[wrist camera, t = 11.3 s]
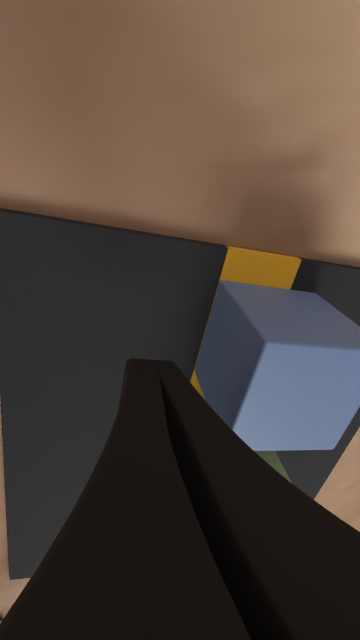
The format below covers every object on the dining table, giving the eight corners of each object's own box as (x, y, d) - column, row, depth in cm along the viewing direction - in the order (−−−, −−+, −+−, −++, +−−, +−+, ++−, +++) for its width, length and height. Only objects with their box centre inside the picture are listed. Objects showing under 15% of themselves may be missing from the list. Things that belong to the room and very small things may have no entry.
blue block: (279, 375, 15) (334, 451, 11) (193, 370, 14) (223, 452, 10) (316, 292, 13) (394, 351, 10) (219, 279, 12) (266, 341, 8)
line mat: (280, 545, 24) (282, 550, 24) (10, 574, 19) (9, 580, 19) (443, 281, 15) (449, 284, 14) (-7, 207, 10) (-10, 209, 9)
